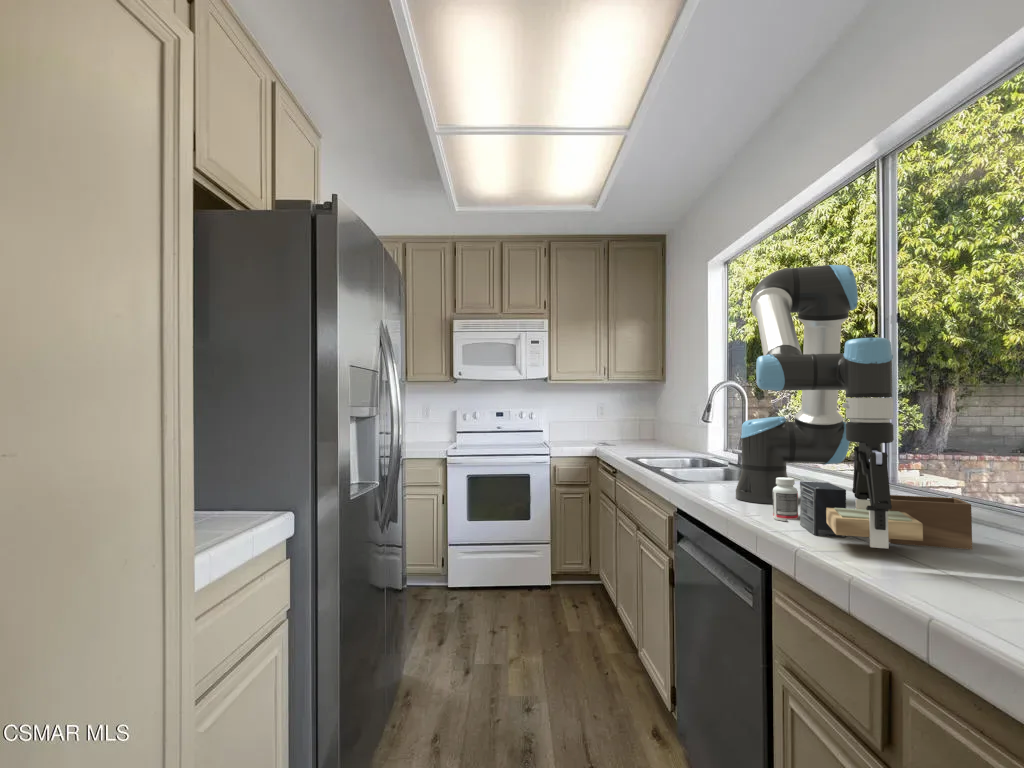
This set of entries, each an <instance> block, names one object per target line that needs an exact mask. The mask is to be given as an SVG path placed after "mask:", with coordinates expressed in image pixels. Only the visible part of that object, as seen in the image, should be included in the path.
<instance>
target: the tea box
mask: <svg viewBox="0 0 1024 768" xmlns="http://www.w3.org/2000/svg"><path fill="white" fill-rule="evenodd" d="M890 497H891V505H892V509H891V510H888V511H899V512H905V513H907V514H908V515H910V516H911V517H913V518H915V519H916V520H918V521H919V522H921V523H922V524H923V541H916V540H902V539H888V541H889V544H893V545H906V546H920V547H931V548H947V549H958V550H959V549H960V550H973V528H972V527H973V525H972V524H973V522H972V521H973V519H972V517H973V516H972V504H971V503H969V502H967V501H964V500H962V499H959V498H957V497H940V496H938V497H937V496H920V495H919V496H918V495H902V494H901V495H900V494H899V495H897V494H890Z"/></svg>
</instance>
